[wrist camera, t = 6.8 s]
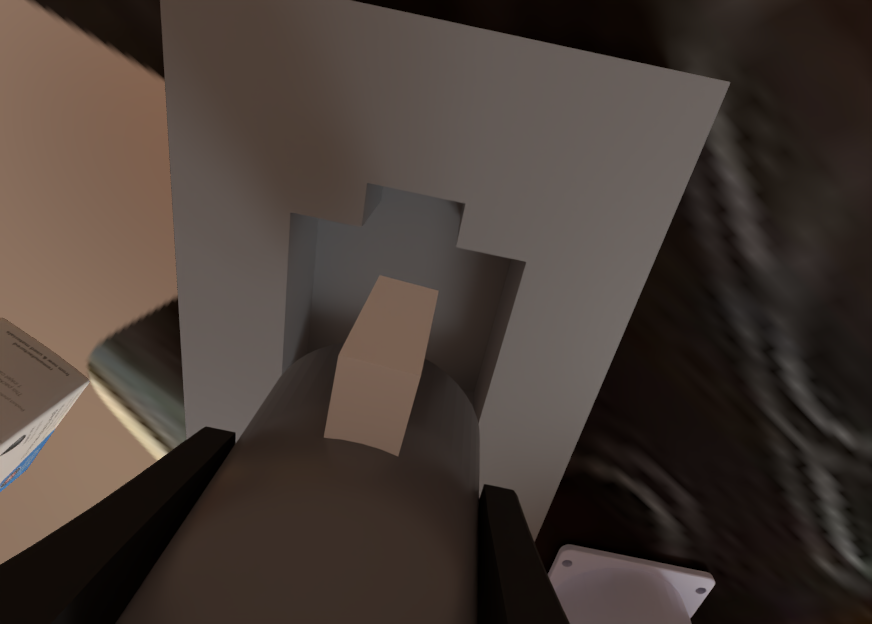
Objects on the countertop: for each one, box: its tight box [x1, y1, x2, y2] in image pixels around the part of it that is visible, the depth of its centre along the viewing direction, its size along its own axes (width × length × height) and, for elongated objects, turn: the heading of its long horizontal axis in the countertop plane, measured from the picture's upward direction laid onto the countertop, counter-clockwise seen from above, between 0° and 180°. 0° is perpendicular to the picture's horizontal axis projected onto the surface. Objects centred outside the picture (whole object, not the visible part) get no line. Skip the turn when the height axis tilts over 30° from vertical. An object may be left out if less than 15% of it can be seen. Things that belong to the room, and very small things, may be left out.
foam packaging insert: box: [160, 0, 730, 542], centre depth 18 cm, size 18×14×4 cm
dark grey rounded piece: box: [115, 275, 480, 624], centre depth 8 cm, size 6×5×6 cm
